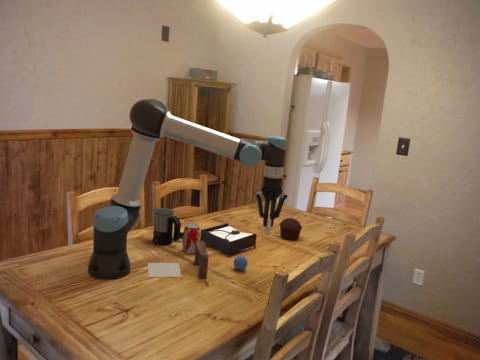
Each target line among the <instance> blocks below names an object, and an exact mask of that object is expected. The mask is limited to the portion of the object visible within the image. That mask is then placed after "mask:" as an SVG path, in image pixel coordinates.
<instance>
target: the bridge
mask: <svg viewBox="0 0 480 360" xmlns="http://www.w3.org/2000/svg"><path fill="white" fill-rule="evenodd" d="M204 241H205V240H200V241H196V248H195V254H194V265H198V271H197V273H198V274H197V277H198V279H207V278H208V267H209V258H210V257H209V252H208V250H207V247H206V244H205V242H204Z"/></svg>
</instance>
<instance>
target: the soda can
mask: <svg viewBox="0 0 480 360" xmlns="http://www.w3.org/2000/svg"><path fill="white" fill-rule="evenodd" d="M183 232H184V234H183V238H182V251H183V252H184V253H185V254H188V255H193V254H194V255H195V248H196V241H201V240H200V238H201V228H200V225H199V224H197V223H187V224H185V226H184V229H183Z"/></svg>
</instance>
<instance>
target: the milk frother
mask: <svg viewBox="0 0 480 360" xmlns="http://www.w3.org/2000/svg"><path fill="white" fill-rule="evenodd" d="M174 213H175V210H174V209H172V208H168V207H162V208H161V207H159V208H156V209H154V210H153V233H152V234H153V235H152V241H151V242H152V243H153V244H154V245H157V246H168V245H172V244H173V243H174V242H175V243H176V242H178V241H180V239H183V234H184V231H183V232H182V231H181V229H182V227H181V226H182V221H181V219H180V218H179V217H178V216H175V215H174Z"/></svg>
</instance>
